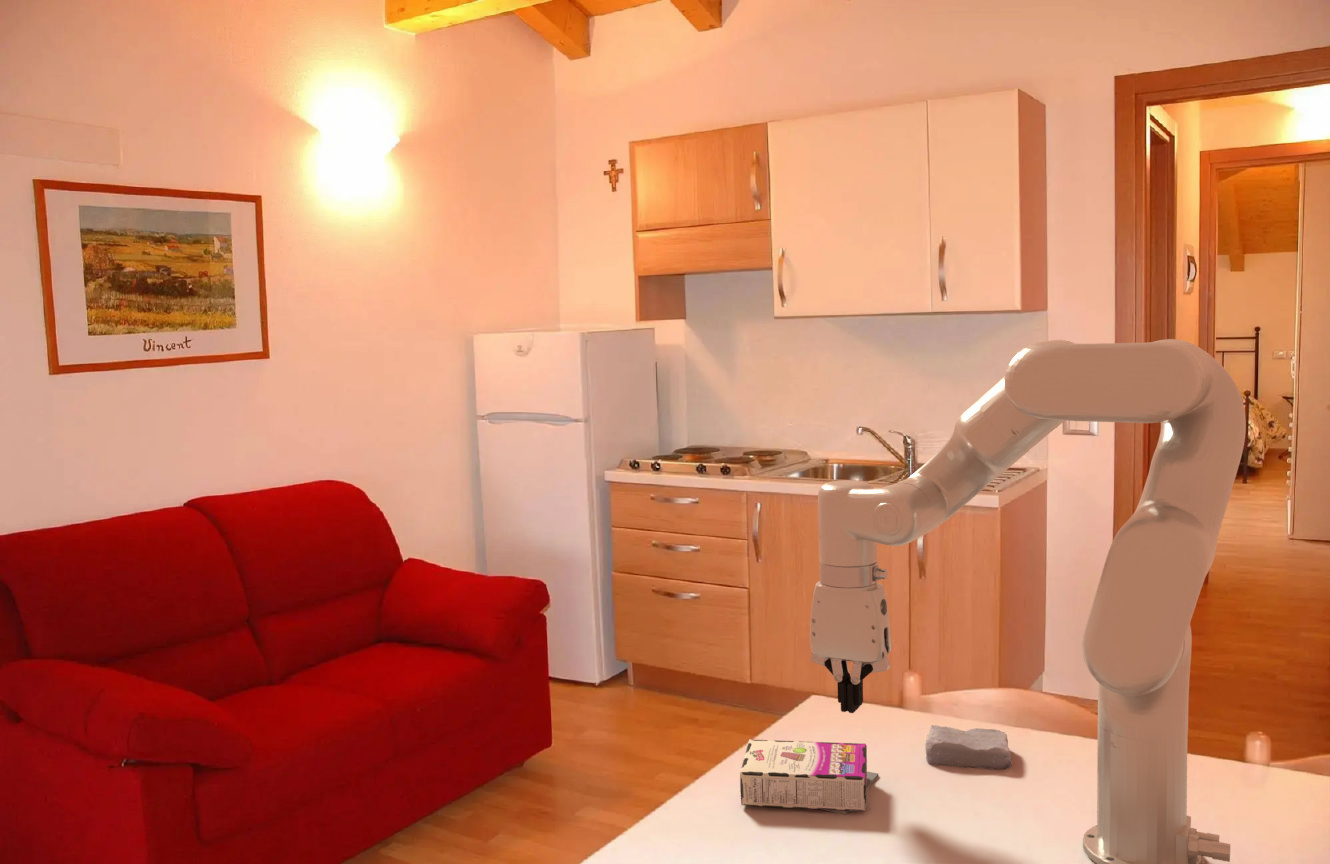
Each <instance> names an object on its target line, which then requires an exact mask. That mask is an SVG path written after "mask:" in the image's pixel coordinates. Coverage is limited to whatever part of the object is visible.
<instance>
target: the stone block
mask: <svg viewBox="0 0 1330 864" xmlns="http://www.w3.org/2000/svg"><path fill="white" fill-rule="evenodd" d="M924 746H925V755H926V756H925V759H926V762H927V764H928V765H932V766H943V767H946V766H947V767H957V768H959V767H960V768H970V769H971V768H973V769H986V770H1002V769H1003V770H1006V769H1007V770H1009V769H1010V767H1011V766H1012V765H1013V764H1012V758H1011V757H1012V756H1011V750H1010V747H1009V741H1008V735H1007V733H1006V732H1005V731H1001V730H998V729H994V728H990V729H988V728H970V729H968V730H961V729H958V728H954V727H950V726H949V727H948V726H940V725H936V724H934V725H933V724H931V725H930V729H929V733H928V734H927V735H926V740H925V745H924Z"/></svg>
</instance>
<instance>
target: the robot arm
mask: <svg viewBox="0 0 1330 864" xmlns="http://www.w3.org/2000/svg"><path fill="white" fill-rule="evenodd" d="M1004 372H1005V373H1004V377H1002V378H1001V379H1000V380H999V381H998V382H997V383H996V384H995V385H993V386H992V387H991V388H989V390H988V391H987V392H985V393H984V394H983V395H982V396H980V398H979V399H977V400H976V401H975V402H974V403H973V404H972V405H971V406H969V407H968V408H967V409H966V410H965V411H964V412H963V413H961V414H960V415H959V417H958V418H957V420H956V422H955V424H954V429H953V432H952V435H951V437H950V438H949V440H948V441H946V443H945V444H944V445H943V446H942V448H940V449H939V450H938V451H937V452H936V453H935V454H934V455H932V457H931V458H930V459H929V460H928V461H926V462H925V463H924V464H923V465H922V466H921V467H919V468H918V469H917V470H915V472H914V473H912V474H911V475H910V476H909V477H907V478H905V479H904V480H900V481H898V482H896V483H893V484H890V485H887V486H883V487H879V488H876V487H875V488H874V486H872V484H870V483H868V482H865V481H861V480H848V479H847V480H834V481H828V482H826V483H823V485H821V486H820V488H819V490H818V493H817V514H818V515H817V518H818V560H819V562H818V564H819V565H818V566H819V567H818V568H819V580H818V581H817V582H816V583H815V586H814V590H813V595H812V601H811V611H810V620H809V623H810V624H809V646H810V651H811V655H810V661H811V662H813V663H814V664H815V663H816V664H817V665H820V666H823V667H825V668H826V669H827V670H828V671H829V672H830V674H831V675H832V676H833V679H834V681H835V682H837V702H838V703H840V711H841V713H842V712H843V713H847V712H848V713H849V714H855V712H856V711H857V710H858V709H859V708H860V707H861V706H862V705H863V702H864V690H863V689H864V682H863V681H864V679H865V678H866V677H867V676H868V675H870V674H871V673H875V674H876V673H882V672H886V671H888V670H889V668H890V667H891V663H890V659H889V655H888V654H890V653H891V652H892V633H891V621H890V614H889V605H888V599H887V595H886V589H885V586H884V584H883V583H879V581H881V580H887V579H888V572H889V571H888V569H887V568H886V569H885V568H882V567H880V565H879V561H878V560H877V559H878V557H877V552H878V551H877V549H878V548H877V544H881V545H886V546H893V547H894V546H895V547H899V546H905V545H908V544H910V543H911V542H912V543H913V542H914V541H915V540H917V539H919V538H921V537H923V536H925V535H926V534H928V533H931V532H933V531H935V530H936V529H937V528H939V527H940V526H941V525H942V524H943V523H945V522H947V520H949V519H950V518H951V517H952V516H954V514H956V513H957V512H958V511H959V510H961V509H962V508H963V507H964V506H965V505H966V504H968V503H969V502H970V501H971V500H973V499H974V498H975V497H976V496H977V495H979V494H980V493H981V491H983V490H984V489H986V487H987V486H988V485H990V484H991V483H992V482H993V481H994V480H996V479H997V478H999V477H1001V476H1002V475H1003V474H1005V472H1006V471H1007V470H1008V469H1010V467H1012V466H1013V465H1014V464H1015V463H1016V462H1018V461H1019V460H1020V459H1021V458H1022V457H1023V456H1024V455H1026V454H1027V453H1029V452H1030V450H1032V449H1033V448H1034V447H1035V446H1036V445H1037V444H1039V443H1040V441H1042V440H1044V438H1045V437H1047V436H1048V435H1050V433H1052V432H1053V431H1054V430H1055V429H1057V428H1058V427H1059V426H1060V425H1062V424H1063V423H1064V422H1067V421H1069V422H1093V423H1094V422H1096V423H1097V422H1099V423H1101V422H1103V423H1125V424H1126V423H1127V424H1128V423H1129V424H1154V423H1155V424H1156V423H1157V424H1158V423H1160V433H1159V437H1158V441H1157V445H1156V448H1155V450H1154V452H1153V455H1152V458H1151V461H1150V466H1149V471H1148V474H1147V478H1146V481H1145V484H1144V487H1143V490H1142V493H1141V497H1140V499H1139V502H1138V504H1137V507H1136V509H1135V511H1134V512H1133V514H1132V515H1131V516H1130V517H1129V518H1128V519H1127V521H1126V522H1125V523H1123V525H1122V526H1121V527H1120V528H1119V530H1118V531H1117V533H1116V534H1115V536H1114V538H1113V539H1112V542H1111V544H1110V547H1109V549H1108V553H1107V554H1106V558H1105V562H1104V565H1103V568H1102V572H1101V574H1100V578H1099V582H1098V584H1097V588H1096V591H1095V595H1094V597H1093V601H1092V605H1091V608H1090V612H1089V615H1088V618H1087V621H1086V624H1085V628H1084V632H1083V635H1082V642H1081V643H1082V645H1081V649H1082V651H1081V652H1082V657H1083V660H1084V662H1085V665H1086V667H1087V669H1088V671H1089V673H1090V674H1091V676H1092V677H1093V678H1094V679H1095V681H1096V682H1097V683H1098V691H1097V693H1098V695H1097V771H1096V772H1097V777H1096V779H1097V782H1096V783H1097V789H1096V790H1097V799H1096V800H1097V803H1096V804H1097V807H1096V808H1097V811H1096V812H1097V813H1096V816H1097V817H1096V818H1097V819H1096V820H1097V821H1096V823H1097V825H1093V826H1092V827H1090V828H1089V829H1087V830H1086V831H1085V833H1084V834H1083V837H1082V846H1083V847H1082V848H1083V851H1084V853H1085V854H1086V855H1087V857H1088V858H1089V859H1091V860H1092V862H1094V863H1095V864H1202V857H1206V858H1212V860H1216V861H1217V860H1218V861H1221V862H1222V861H1223V862H1227V863H1230V862H1231V843H1226V842H1222V841H1221V842H1220V834H1216V833H1211V832H1202V831H1197V828H1194V827H1192V816H1190V815H1187V807H1188V806H1187V801H1188V732H1189V693H1190V676H1191V675H1190V673H1191V661H1192V646H1193V645H1192V644H1193V643H1192V642H1193V637H1192V636H1193V635H1192V627H1191V620H1192V618H1193V615H1194V612H1195V609H1196V606H1197V604H1198V603H1197V602H1198V599H1199V596H1200V593H1201V591H1202V588H1203V585H1204V583H1205V580H1206V577H1207V575H1208V573H1209V571H1210V569H1211V568H1212V565H1213V563H1214V560H1215V556H1216V551H1217V550H1216V549H1217V544H1218V540H1219V535H1220V532H1221V531H1220V530H1221V528H1222V524H1223V520H1224V517H1225V514H1226V511H1227V508H1228V506H1229V502H1230V499H1231V494H1232V491H1233V486H1234V483H1235V479H1236V478H1237V473H1238V470H1239V466H1240V463H1241V459H1242V455H1243V451H1244V447H1245V440H1246V431H1247V430H1246V427H1247V426H1246V425H1247V423H1246V411H1245V406H1244V402H1243V398H1242V396H1241V393H1240V390H1239V387H1238V386H1237V384H1236V383H1235V380H1234V379H1233V378H1232V375H1230V373H1229V372H1228V370H1227V369H1226V368H1224V366H1223V365H1222V364H1221V363H1220V362H1219V361H1218V360H1217V359H1216V358H1215V357H1213V356H1212V355H1211V354H1210V353H1209V352H1207V351H1206V350H1204V349H1202V348H1201V347H1199V346H1197V345H1196V344H1193V343H1191V342H1188V341H1185V340H1181V339H1175V338H1167V339H1160V340H1156V341H1150V342H1119V343H1118V342H1115V343H1112V342H1111V343H1108V342H1107V343H1105V342H1104V343H1103V342H1101V343H1076V342H1072V341H1069V340H1063V339H1054V340H1053V339H1052V340H1045V341H1038V342H1035V343H1031V344H1029V345H1028V346H1026V347H1023V348H1022V349H1021V350H1019V351H1018V352H1017V353H1016V354H1015V355H1014V356H1013V357H1012V358H1011V360H1010V361H1009V362H1008V365H1007V366H1006V370H1005V371H1004ZM849 662H852V666H851V673H850V668H849Z"/></svg>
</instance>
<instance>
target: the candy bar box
mask: <svg viewBox="0 0 1330 864" xmlns="http://www.w3.org/2000/svg"><path fill="white" fill-rule="evenodd" d="M867 751H868V750H867V744H866V743H856V742H855V743H853V742H829V741H827V742H823V741H821V742H819V741H800V740H775V739H774V740H773V739H772V740H771V739H770V740H769V739H768V740H767V739H751V738H749V740H748V742H747V745H746V750H745V753H744V758H743V761H742V765H741V768H740V772H739V784H740V787H739V788H740V802H741V803H740V805H741V806H747V807H748V806H749V807H750V806H751V807H771V808H791V809H792V808H795V809H796V808H797V809H813V810H814V809H818V810H822V809H832V810H849V811H851V812H853V811H854V812H866V810H867V794H868V793H867V790H868V789H867V772H868V758H867V757H868V756H867V755H868V754H867Z"/></svg>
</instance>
